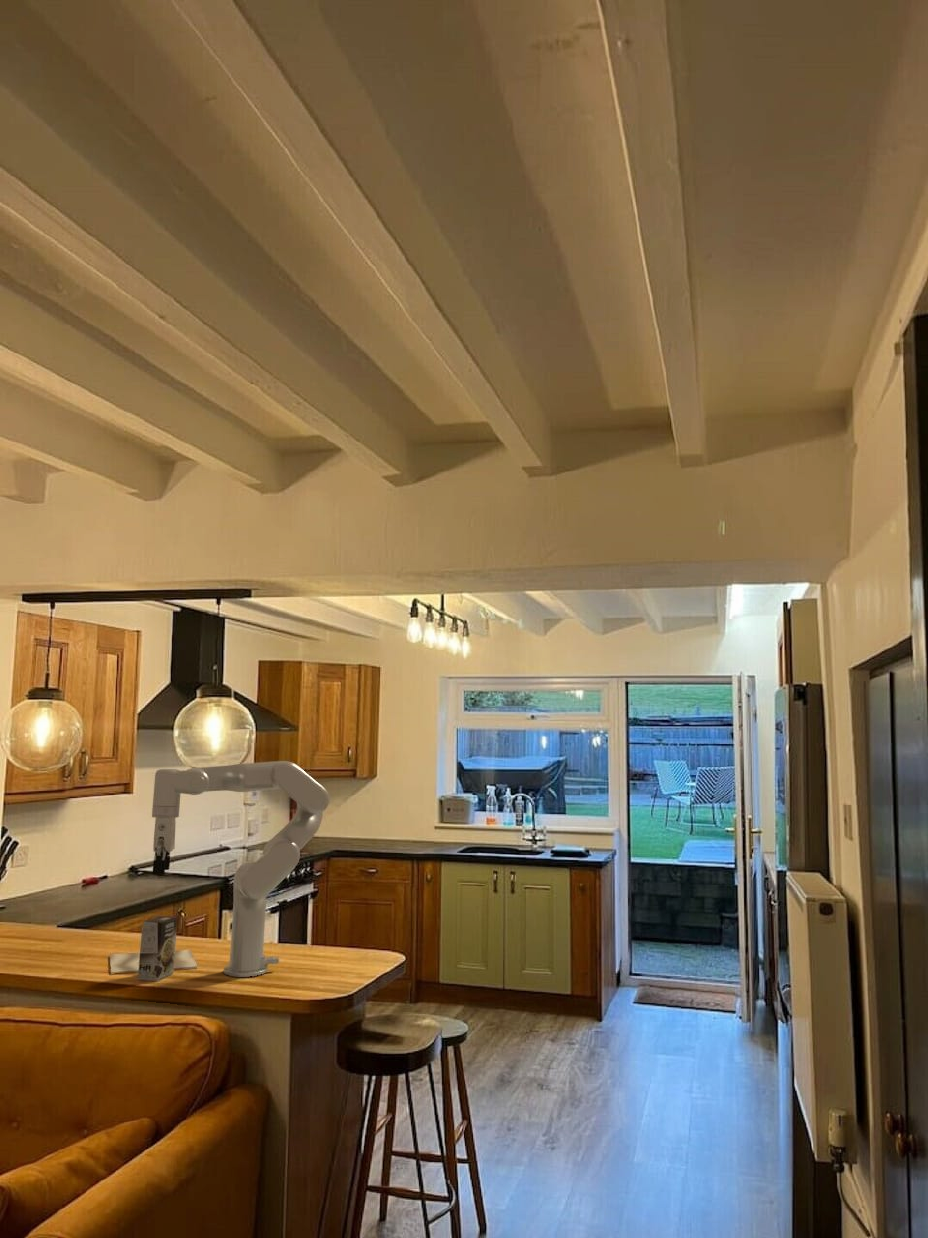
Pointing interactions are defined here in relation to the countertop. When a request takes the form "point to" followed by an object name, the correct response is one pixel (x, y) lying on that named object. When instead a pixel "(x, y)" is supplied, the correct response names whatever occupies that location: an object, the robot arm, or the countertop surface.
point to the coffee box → (157, 948)
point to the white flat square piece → (131, 960)
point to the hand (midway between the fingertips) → (161, 872)
